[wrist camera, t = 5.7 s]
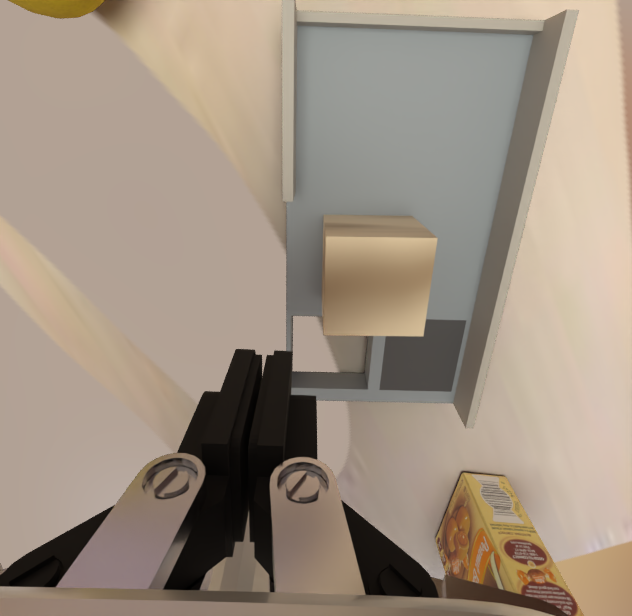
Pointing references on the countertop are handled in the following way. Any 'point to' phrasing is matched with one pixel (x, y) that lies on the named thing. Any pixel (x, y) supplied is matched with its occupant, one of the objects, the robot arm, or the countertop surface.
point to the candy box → (498, 543)
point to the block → (376, 275)
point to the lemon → (59, 7)
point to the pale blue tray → (417, 174)
